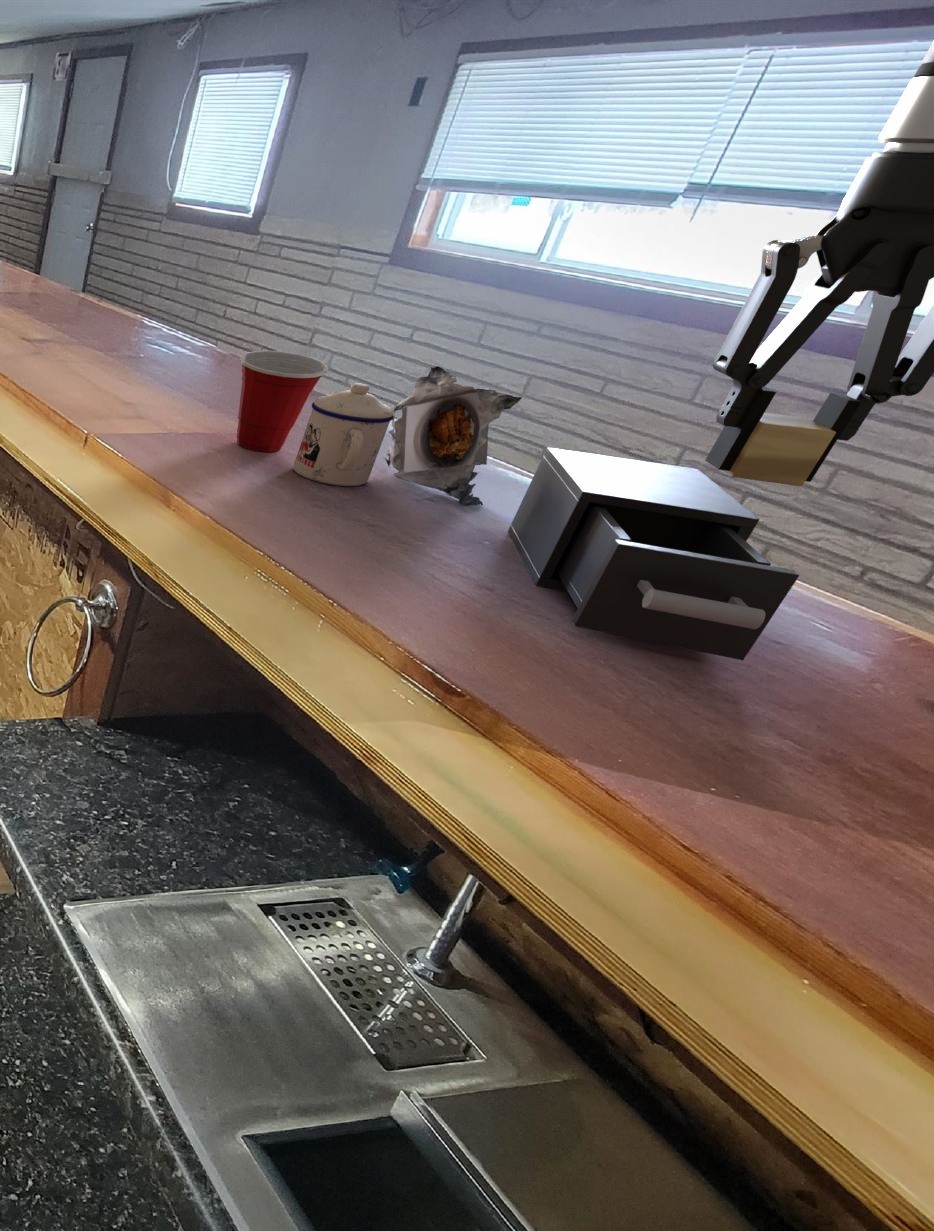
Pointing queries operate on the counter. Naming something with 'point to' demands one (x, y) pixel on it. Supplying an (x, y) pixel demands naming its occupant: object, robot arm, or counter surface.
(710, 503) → the small drawer cabinet
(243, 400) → the plastic cup
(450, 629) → the counter surface
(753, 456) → the block
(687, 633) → the open drawer unit
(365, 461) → the teacup with lid
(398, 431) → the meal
